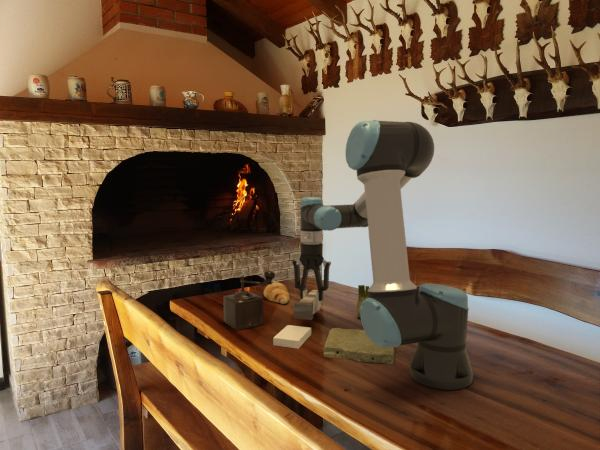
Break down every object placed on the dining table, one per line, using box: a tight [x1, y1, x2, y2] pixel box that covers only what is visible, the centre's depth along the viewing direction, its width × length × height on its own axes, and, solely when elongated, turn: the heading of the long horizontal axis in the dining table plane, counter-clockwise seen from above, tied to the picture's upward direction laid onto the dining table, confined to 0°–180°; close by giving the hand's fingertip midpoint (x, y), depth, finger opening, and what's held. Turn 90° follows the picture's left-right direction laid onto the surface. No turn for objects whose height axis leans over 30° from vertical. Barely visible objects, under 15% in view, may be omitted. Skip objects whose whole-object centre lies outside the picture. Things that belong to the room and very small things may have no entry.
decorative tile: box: [323, 327, 396, 365], centre depth 133 cm, size 19×20×4 cm
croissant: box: [263, 281, 290, 305], centre depth 184 cm, size 21×10×8 cm, turn 25°
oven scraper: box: [293, 289, 324, 321], centre depth 157 cm, size 18×6×5 cm, turn 161°
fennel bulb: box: [356, 284, 370, 319], centre depth 159 cm, size 6×5×12 cm
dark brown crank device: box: [222, 270, 276, 331], centre depth 155 cm, size 16×11×18 cm
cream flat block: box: [272, 324, 312, 349], centre depth 140 cm, size 3×8×12 cm
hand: (311, 308), depth 158 cm, fingers closed on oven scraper, 4 cm apart
